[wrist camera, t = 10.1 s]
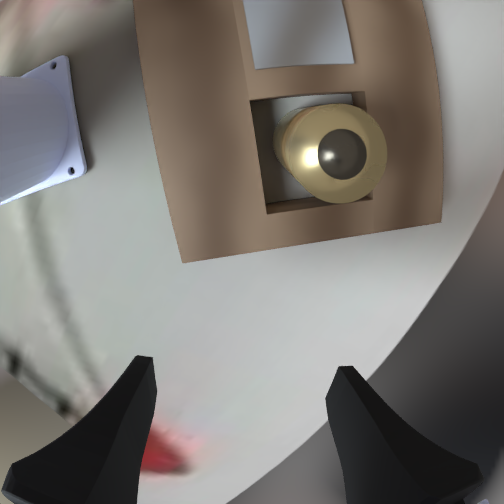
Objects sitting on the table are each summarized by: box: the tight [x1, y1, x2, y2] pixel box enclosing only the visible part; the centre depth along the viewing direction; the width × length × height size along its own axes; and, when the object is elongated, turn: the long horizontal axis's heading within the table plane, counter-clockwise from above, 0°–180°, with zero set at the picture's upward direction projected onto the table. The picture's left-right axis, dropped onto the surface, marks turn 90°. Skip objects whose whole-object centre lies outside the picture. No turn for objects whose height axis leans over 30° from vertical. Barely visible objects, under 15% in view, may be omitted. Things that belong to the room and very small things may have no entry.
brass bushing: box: [273, 103, 387, 204], centre depth 14 cm, size 4×4×6 cm
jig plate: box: [133, 0, 443, 263], centre depth 14 cm, size 16×16×2 cm
